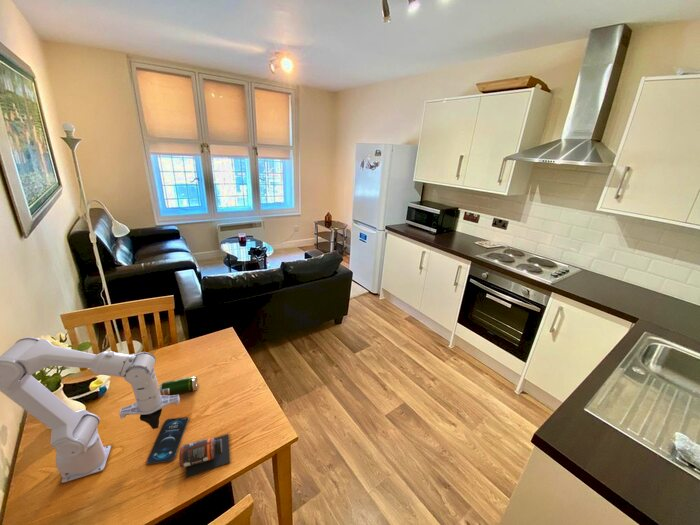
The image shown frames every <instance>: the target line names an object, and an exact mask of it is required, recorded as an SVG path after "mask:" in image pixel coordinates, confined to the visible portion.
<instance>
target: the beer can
mask: <svg viewBox="0 0 700 525" xmlns="http://www.w3.org/2000/svg"><path fill="white" fill-rule="evenodd" d="M159 390H160V394H161V395H163V396H173V395H180V394H185V393H186V394H187V393H190V392H195V391H196V390H198V377H197V376H188V377H184V378H178V379H173V380H168V381H163V382H161V383H160V384H159Z"/></svg>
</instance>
